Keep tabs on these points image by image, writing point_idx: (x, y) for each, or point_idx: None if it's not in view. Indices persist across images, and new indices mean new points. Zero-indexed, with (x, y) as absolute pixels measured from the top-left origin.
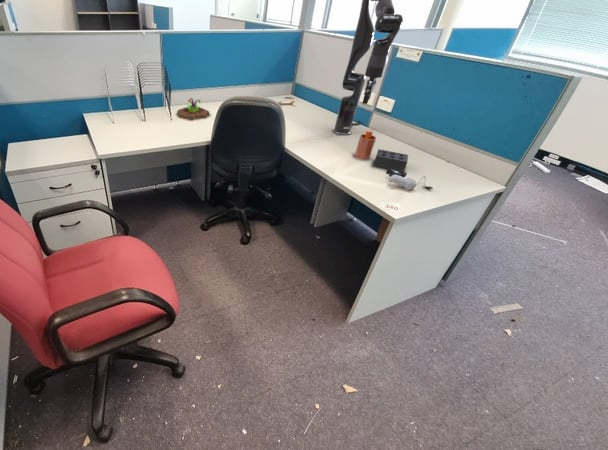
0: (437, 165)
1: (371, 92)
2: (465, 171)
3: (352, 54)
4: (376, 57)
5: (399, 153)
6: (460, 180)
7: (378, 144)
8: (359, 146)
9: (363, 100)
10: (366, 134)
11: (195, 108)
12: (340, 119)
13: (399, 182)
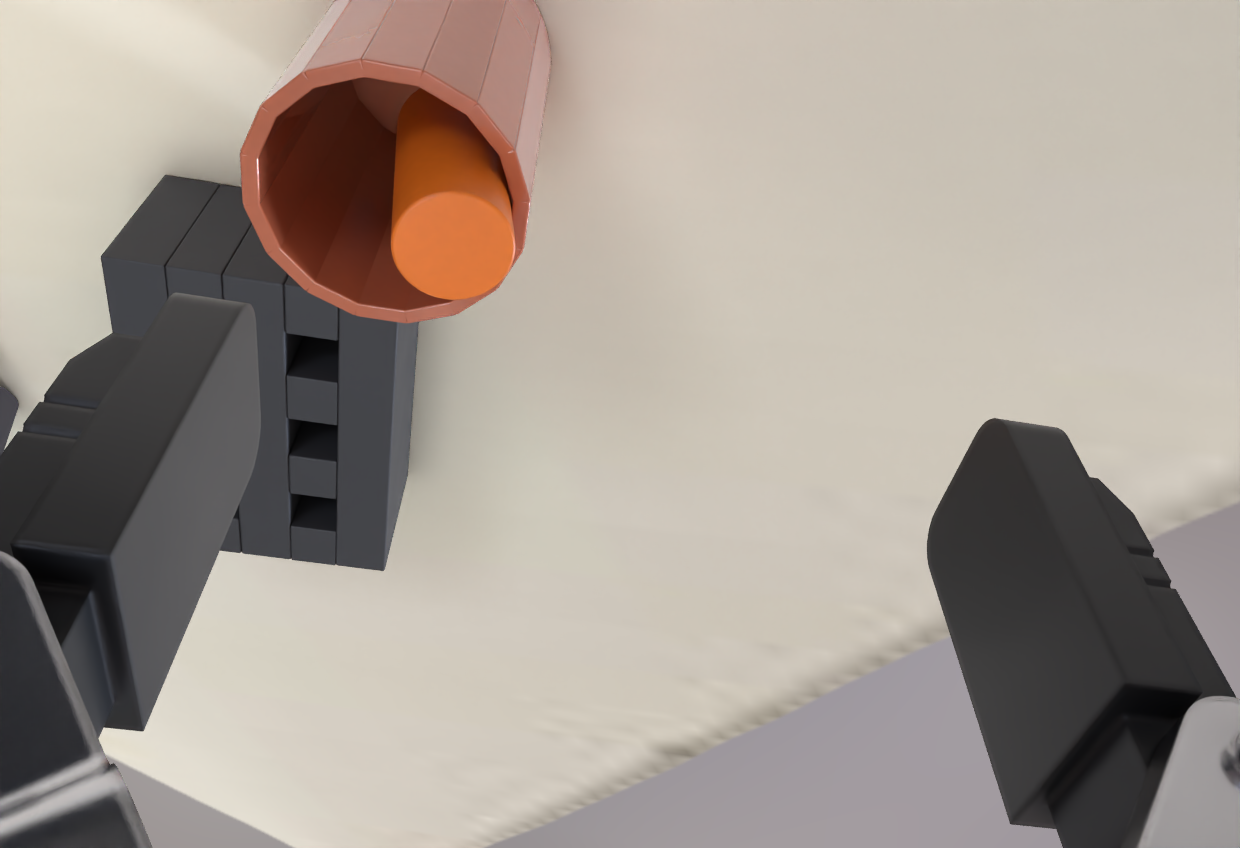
0: (567, 690)
1: (1024, 805)
2: (528, 801)
3: None
4: None
5: (371, 504)
6: (331, 755)
7: (1024, 304)
8: (322, 26)
9: (131, 372)
10: (409, 181)
11: None
12: None
13: None
